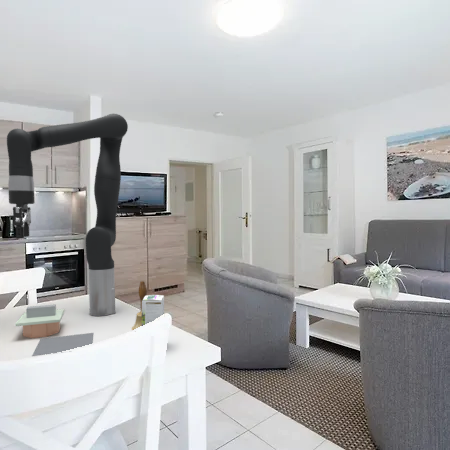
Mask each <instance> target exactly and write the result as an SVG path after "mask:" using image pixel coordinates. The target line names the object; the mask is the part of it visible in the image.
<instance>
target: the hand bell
mask: <svg viewBox="0 0 450 450" xmlns="http://www.w3.org/2000/svg"><path fill="white" fill-rule="evenodd" d="M147 291H148V290H147V285H146V281H144V280H142V281H140V283H139V286H138V297H139V299H140V311H139V312H137V314H136V316H135V322H134V324H133V326H132V327H131V330H132V331H133V330H134V329H136V328H138V327H140V326H142V300H143V299H144V297H145V296H147V293H148V292H147Z"/></svg>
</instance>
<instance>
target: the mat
mask: <svg viewBox="0 0 450 450" xmlns="http://www.w3.org/2000/svg"><path fill="white" fill-rule="evenodd" d="M94 336H95V335H94V332H88V333H80V334H72V335H61V336H54V337H42V338H40V339H39V341H38V343H37V345H36V347H35V349H34V352H33V353H32V355H31V357H36V356H37V357H38V356H45V354H46V355H52V354H51V353H53V354H58V353H57V352H61V353H63V352H62V351H66V350H70V349H74V348H77V347H82V346H85V345H89V344H92V343H93V344H94Z"/></svg>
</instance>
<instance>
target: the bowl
mask: <svg viewBox="0 0 450 450" xmlns="http://www.w3.org/2000/svg"><path fill="white" fill-rule="evenodd" d="M60 330H61V321H60V322H54V323H45V324H35V325H25V326H22V337H25V338H29V339H38V338H48V337H50V336H52V335H55V334H57V333H60Z"/></svg>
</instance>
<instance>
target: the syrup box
mask: <svg viewBox="0 0 450 450" xmlns="http://www.w3.org/2000/svg"><path fill="white" fill-rule="evenodd" d="M163 314H164V315H165V295H163V294H162V295H161V294H148V295H146V296H145V297H144V299H143V300H142V326H143V325H145V324H147V323H149V322H152V321H154V320H155V319H156V318H158V317H160V316H161V315H163Z"/></svg>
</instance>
